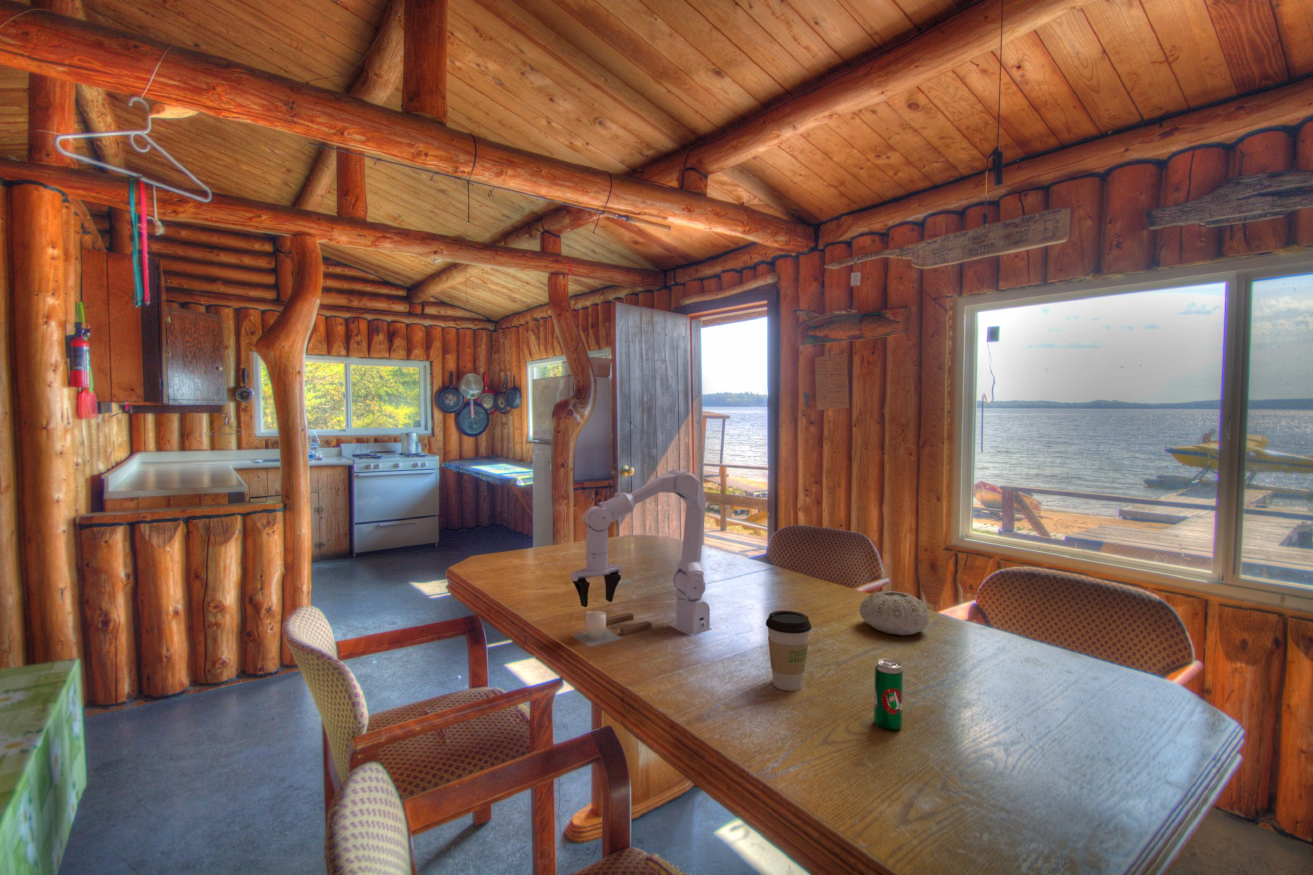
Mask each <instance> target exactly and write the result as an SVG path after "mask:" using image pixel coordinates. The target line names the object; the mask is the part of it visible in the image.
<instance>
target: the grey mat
mask: <svg viewBox="0 0 1313 875" xmlns="http://www.w3.org/2000/svg"><path fill="white" fill-rule="evenodd" d="M570 636H571V637H573V638H574V639H576V640H578V641H580V642H581V643H582V644H583V645H586V646H587V647H589V648H592V647H596V646H600V645H604V644H608V643H612V642H615V641H619V640H623V637H621V636H619V635H618V634H616V633H613V632H612V631H610V630H609V629H606V638H604V639H602V640H590V639H588V638H587V631H583V632H580V633H575V634H571V635H570Z"/></svg>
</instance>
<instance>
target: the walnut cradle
mask: <svg viewBox="0 0 1313 875" xmlns="http://www.w3.org/2000/svg"><path fill="white" fill-rule="evenodd" d="M652 624H653V623H652V622H651V621H648V620H647V621H645V620H644V621H642V622H638V621H637V620H634V614H633V613H632V612H625V613H620V614H615V615H612V616H608V617H607V616H606V628H607V627H608V628H609V629H610V630H613V631H615V632H616V633H619V634H620V635H622V636H625V637H626V636H630V635H632V634H633V635H634V634H636V633H640V632H644V631H649V630H652V628H653V627H652V626H653V625H652Z"/></svg>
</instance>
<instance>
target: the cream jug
mask: <svg viewBox="0 0 1313 875" xmlns="http://www.w3.org/2000/svg"><path fill="white" fill-rule="evenodd" d="M585 615H586V618H585V622H586V632H587V638H588V639H590V640H602V639H604V638H606V630H607V626H606V618H607V613H606V612H604V611H602V610H601V611H599V610H595V611H586V614H585Z"/></svg>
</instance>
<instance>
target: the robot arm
mask: <svg viewBox="0 0 1313 875" xmlns="http://www.w3.org/2000/svg"><path fill="white" fill-rule="evenodd" d="M660 493H670V494H676V495H677V496H679V498H680V499H681V500H682V501H683V502H684V503H685V505H686V508H685V516H684V517H685V518H684V528H683V538H682V539H683V540H682V550H681V559H680V560H679V562H678V564H677V568H676V572H675V573H674V574H673V577H672V582H673V586H674V588H675V589H676V592H675V622H673V623H670V624H668V625H669V627H670V628H674V629H676V630H678V631H680V632H682V633H684V634H686V635H689V636H694V635H697V634H700V633H705V632H708V631H712V629H713V628H712V627H711V626H710V618H711V616H710V614H711V611H710V608H711V607H710V605H709V603H708V602H706V601H705V600H704V599H703V595H704V594H705V591H706V585H707V584H706V582H705V579H704V575H705V574H704V573H705V572H704V568H703V567H702V564H701V558H702V549H703V548H702V546H703V537H704V535H703V534H704V529H705V528H704V527H705V515H706V505H707V499H706V496H705V494H704V491H703V488H702V486H701V480H700V479H699V478H698V477H697V476H696V475H695V474H693V473H692V472H689V471H682V470H680V469H671V470H670V471H668V472H665V473H662V474H661V475H659V476H657V477H656V478H654V479H652V480H650V481H649V482H647V483H645V484H644V485H642V486H641V487H639V488H637V489H635V490H634V491H632V492H630V493H627V492H615V493H614V494H613V495H614V496H613V497H611V498H610V499H607V500H606V501H600V502H598V506H596V505H594V506H591V507H589V508H587V510H586V511H585V513H584V516H583V521H584V523H585V524H586V536H585V543H586V544H585V557H586V558H585V562H586V563H585V568H583V569H579V570H576V571H571V572H570V580H571V581H572V583H573V585H574V587H575V589H576V592H577V595H578V597H579V601H580V605H581V607H583V608H588V603H589V601H588V600H589V589H590V585H591V582H589V581H588V580H587V579H590V578H596V577H602V576H603V578H604V586H605V601H607V602H609V603H612V602H613V599H614V596H615V591H616V589H617V586H618V584H619V582H620V580H621V579H622V575H621V574H622V573H623V566H622V565H621V564H613V565H611V564H610V565H609V563H608V562H609V553H608V552H609V535H608V534H609V532H608V528H609V527H610V525H611V523H614V522H615V521H618V520H619V519H620V518H623V517H624V516H626V515H628V514H631V513H632V512H634V509H635V506H636V505H638V504H640V503H642V502H643V501H645V500H648V499H650V498H652V497H653V496H656V495H658V494H660Z"/></svg>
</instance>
